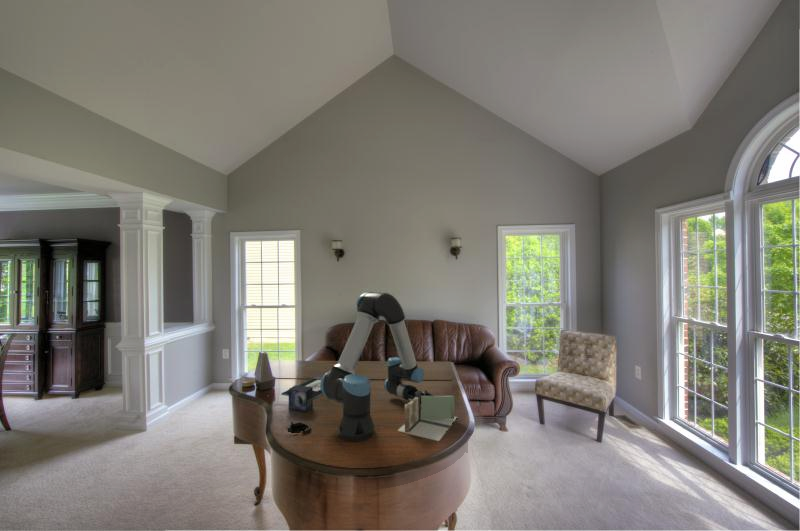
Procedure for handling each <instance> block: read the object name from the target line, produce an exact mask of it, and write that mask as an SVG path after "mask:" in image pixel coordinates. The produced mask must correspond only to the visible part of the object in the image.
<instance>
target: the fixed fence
mask: <svg viewBox="0 0 800 531" xmlns="http://www.w3.org/2000/svg"><path fill="white" fill-rule="evenodd" d="M420 391H421V390H418V391H417V392H416V393H415V395H416V397H415V398H414V399H413V400H411V401H410V402H409V401H408V403H405V404H404V424H405V432H409V429H410V428H411V427H412V426H413V425H414V424H415V423H416V422H417V421H420V420H421V416H420V410H421V404H420V396H421V392H422V391H421V392H420Z"/></svg>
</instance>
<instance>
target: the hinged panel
mask: <svg viewBox="0 0 800 531" xmlns="http://www.w3.org/2000/svg"><path fill="white" fill-rule="evenodd" d="M420 410H421V419H454V416H455V395H434V396H421V404H420Z"/></svg>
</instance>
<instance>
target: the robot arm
mask: <svg viewBox="0 0 800 531" xmlns="http://www.w3.org/2000/svg"><path fill="white" fill-rule="evenodd" d="M355 306H356V316H357V318H356V320H355V323H354V325H353V328H352V329H351V332H350V334H349V336H348V338H347V341H346V343H345V346H344V348H343V350H342V353H341V354H340V357H339V358H338V361H337V363H336V364H334V365H332V367H331V369H330V370H329V371H327V372H325V373H324V374H323V375H322V377H321V378H322V379H321V383H320V388H321V392H322V393H323V394H322V395H323V396H325V397H326V398H327V399H328V400H332V401H334V402H337V403H339V404H341V405H342V418H341V421H340V424H339V426H338V436H339V438H340V439H342V440H344V441H347V442H363V441H366V440H369V439H370V438H371V437H373V436H374V435H375V424H374V421H373V418H372V415H371V391H372V390H371V383H370V379H369V378H368V377H367V376H366V375H363V374H360V373H359V374H357V373H356V372H355V369H356V367H357V365H358V363H359V360H360V358H361V355H362V352H363V350H364V349H365V346H366V343H367V340H368V339H369V336H370V334H371V331H372V329H373V327H374V325H375V324H376V323H378V322H379V321H380V318H381V317H383V318H384V320H385V323H386V325H389V328H390V331H391V335H392V337H393V341H394V344H395V347H396V350H397V353H398V357H395V356H393V357H389V358H388V359H387V378H386V379H385V380H384V383H383V389H384V391H385V392H387V393H388V394H390V395H392V396H395V397H399V398H401V399H402V400H405V401H408V403H409V402H410V401H411V400H413V399H414V398H415V397H416V395H415V393H416V392H417V391H420V392H421V396H435V395H434V394H432V393H430V392H428V391H427V390H424V391H423V392H422V391H421V390H418V389H417V387H416V386H414V385H411V384H409V383H406V382H403V380H406V381H408V382H411V383H415V384H417V383H418V384H419V383H422V381H423V379H424V378H425V371H424V369H423V368H421V367H420V366H418V363H417V359H416V356H415V354H414V349H413V346H412V342H411V340H410V336H409V332H408V329H407V326H406V324H405V319H406V315H405V312H404V310H403V307H402V305H401V304H400V302H399V300H397V298H396V297H395V296H394V295H392V294H391V293H388V292H373V291H369V292H368V291H367V292H364V293H362V294H360V295H359V297H358V298H357V300H356V303H355ZM421 396H420V405H421Z"/></svg>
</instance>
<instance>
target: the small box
mask: <svg viewBox="0 0 800 531" xmlns="http://www.w3.org/2000/svg"><path fill="white" fill-rule="evenodd" d="M299 385H300V384H295V385H293V386H291V387H289V389H288V390H289V396H288V410H290V411H295V412H296V411H297V412H302V411H303V413H307V412H309V411H310V410H311V409H313V408H314V405H313V400H314V399H313V387H307V386H299Z"/></svg>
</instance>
